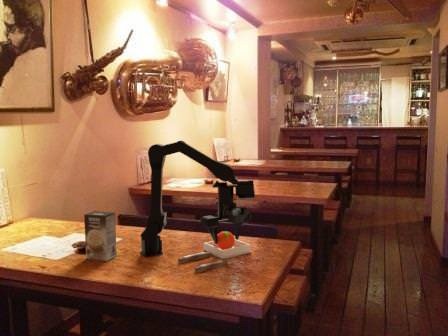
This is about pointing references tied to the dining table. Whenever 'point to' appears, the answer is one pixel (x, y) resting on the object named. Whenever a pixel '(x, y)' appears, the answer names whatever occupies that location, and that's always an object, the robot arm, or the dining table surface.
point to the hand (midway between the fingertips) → (226, 241)
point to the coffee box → (100, 235)
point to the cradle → (204, 266)
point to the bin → (236, 250)
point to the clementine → (225, 240)
